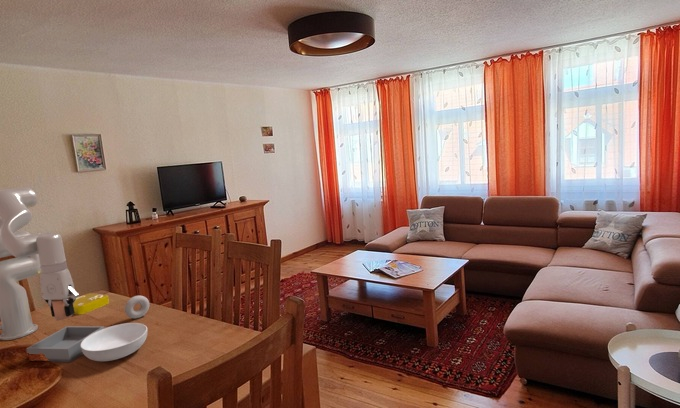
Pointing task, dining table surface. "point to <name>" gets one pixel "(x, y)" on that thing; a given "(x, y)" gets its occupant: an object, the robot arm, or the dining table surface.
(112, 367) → the dining table surface
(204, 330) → the dining table surface
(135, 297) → the donut
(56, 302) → the pinkish-brown rounded piece
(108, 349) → the serving bowl
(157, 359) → the dining table surface
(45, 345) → the bin
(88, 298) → the element tile
